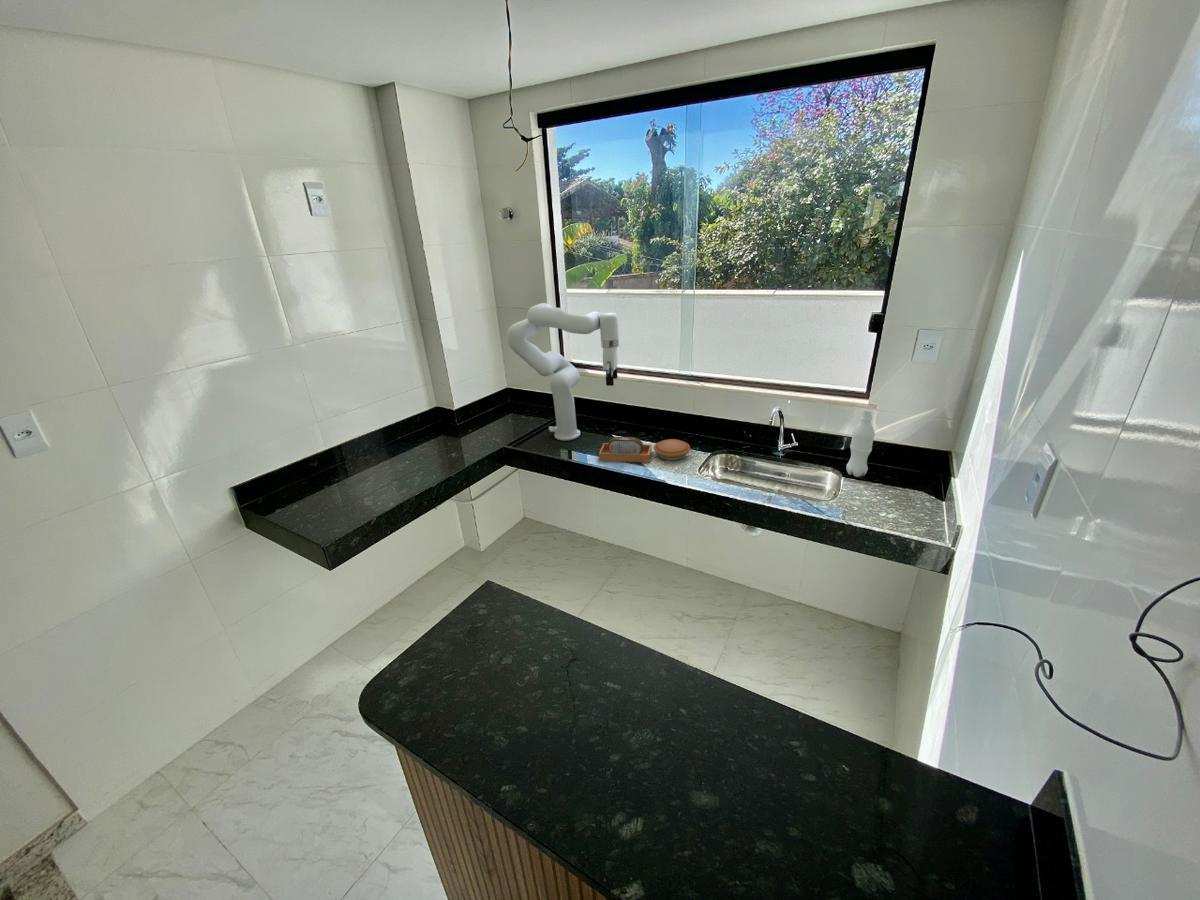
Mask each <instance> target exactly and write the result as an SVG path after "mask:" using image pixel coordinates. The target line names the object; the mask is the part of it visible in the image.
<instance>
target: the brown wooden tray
mask: <svg viewBox="0 0 1200 900" xmlns="http://www.w3.org/2000/svg"><path fill="white" fill-rule="evenodd" d="M608 444H609V442H604V443H602V446H601V448H600V450H599V453H598V457H599V459H598V460H599V462H617V463H618V462H619V463H620V462H623V463H647V464H648V463H650V460H651V457H652V452H653V451H652V449H653V447H652V444H648V443H647V444H643V450H642V452H641V454H620V453H610V451H609V449H608Z"/></svg>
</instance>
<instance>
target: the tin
mask: <svg viewBox="0 0 1200 900" xmlns="http://www.w3.org/2000/svg"><path fill="white" fill-rule="evenodd" d="M608 443H609V444H608V449H609V451H610V453H620V454H641V452H642V450H643V441H642V440H641V439H640V438H638V437H633V436H632V437H631V436H614V437H612V438H610V439H609V440H608Z"/></svg>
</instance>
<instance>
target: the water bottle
mask: <svg viewBox="0 0 1200 900" xmlns="http://www.w3.org/2000/svg"><path fill="white" fill-rule="evenodd" d="M872 415H873V412H872V411H869V410H864V411H862V414H861V417H860V421H859V422H858V423H857V425H856V426H855V427H854V429H853V430H852V435H851V441H850V444H849V448H850V458H849V460H848V462H847V464H846V467H845V468H846V472H847V474H848V475H849V476H852V475H853V477H855V478H860V477H864V476H865V475H866V474H867V473H868V470H869V467H868V458H869V455H870V454H871V452H872V451H873V443H874V438H875V437H876V436H875V434H876V433H875V429H874V427H873V424H872V420H873V417H872Z"/></svg>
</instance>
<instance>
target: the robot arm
mask: <svg viewBox="0 0 1200 900" xmlns="http://www.w3.org/2000/svg"><path fill="white" fill-rule="evenodd" d="M618 319H619V317H618V314H617V313H616V312H600V311H590V312H588V313H586V314H584V315H577V314H569V313H567V312H566V310H565V309H564V308H562V307H556V306H555V307H554V306H552V305H551V304H549V303H547V302H541V303H538V304H535V305H533V306H531V307H530V308H529V309H528V311H527V312H526V318H524V319H522V320H519V321H517V322H515V323H513V324H511V325H510V326H509V327H508V329H507V331H506V332H507V333H506V341H507V345H508V347H509V348H510V350H512V352H514V353H515V354H516V355H517V356H518V357H520V359H522V360H523V361H525V362H526V364H527V365H528V366H530V367H531V369H532V370H534V371H535V372H536V373H537V374H538V375H540V376H542V377H549V376H551V375H552V374H553V375H552V376H551V378H550V381H549V387H550V391H551V394H552V398H553V407H554V416H555V426H548V431H549V433H554V434H553V435H554V436H553V437H554V438H555V440H558V441H565V442H566V441H572V440H576V439H578V438H579V437H580V436H581V430H580V429H578V426H577V415H576V405H575V397H574V394H573V392H572V388H573V387H575V386H576V385H577V384H578V383H579V381H580V379H581V378H580V377H581V375H580V372H579V370H578V369H577V367H576V366H574V365H573V364H572V362H570V361H569V360H568V359H567V358H565V356H563V355H562V354H561V353H559V352H558V351H555V350H549V351H546V352H544V351H543V350H541V349H540V348H539V347H538V346H537V345H535V344H534V343H532V342H530V341H528V340H529V339H531V338H533V337H534V336H536V335H537V334H539V333H540V332H541V331H542V330H543V329H544V328H552V329H553V328H554V329H560V330H562V331H564V332H566V333H570V334H578V335H590V334H591V333H593V332H595V331H598V330H599V331H600V346H601V347H600V348H602V371H603V372H605V385H606V386H607V387H608V386H609V387H612V386H614V385H615V384H614V383H615V382H614V380H617V379H618V348H619V347H620V340H619V338H620V337H619V320H618Z"/></svg>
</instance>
